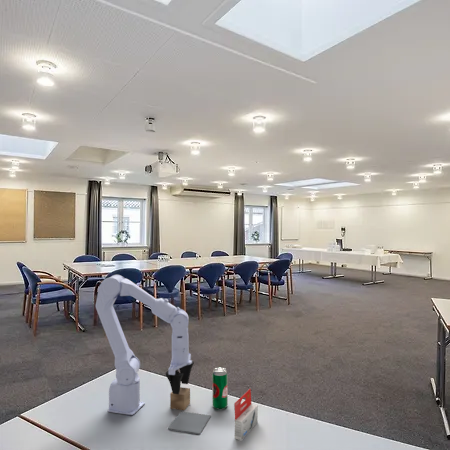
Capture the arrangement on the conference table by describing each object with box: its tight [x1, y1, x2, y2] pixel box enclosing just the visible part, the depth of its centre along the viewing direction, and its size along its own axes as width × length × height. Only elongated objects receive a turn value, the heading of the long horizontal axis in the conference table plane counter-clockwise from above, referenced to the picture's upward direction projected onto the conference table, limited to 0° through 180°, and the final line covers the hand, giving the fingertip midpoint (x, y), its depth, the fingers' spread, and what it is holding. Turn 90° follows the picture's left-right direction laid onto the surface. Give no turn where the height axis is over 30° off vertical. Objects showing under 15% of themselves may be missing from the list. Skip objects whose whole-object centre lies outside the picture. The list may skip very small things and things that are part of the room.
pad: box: [167, 410, 212, 435], centre depth 102 cm, size 10×10×1 cm
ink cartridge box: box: [233, 388, 259, 442], centre depth 98 cm, size 2×11×10 cm, turn 151°
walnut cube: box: [169, 386, 191, 411], centre depth 113 cm, size 5×5×5 cm
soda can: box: [211, 367, 229, 410], centre depth 112 cm, size 5×5×12 cm
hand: (180, 388), depth 113 cm, fingers open, 7 cm apart
